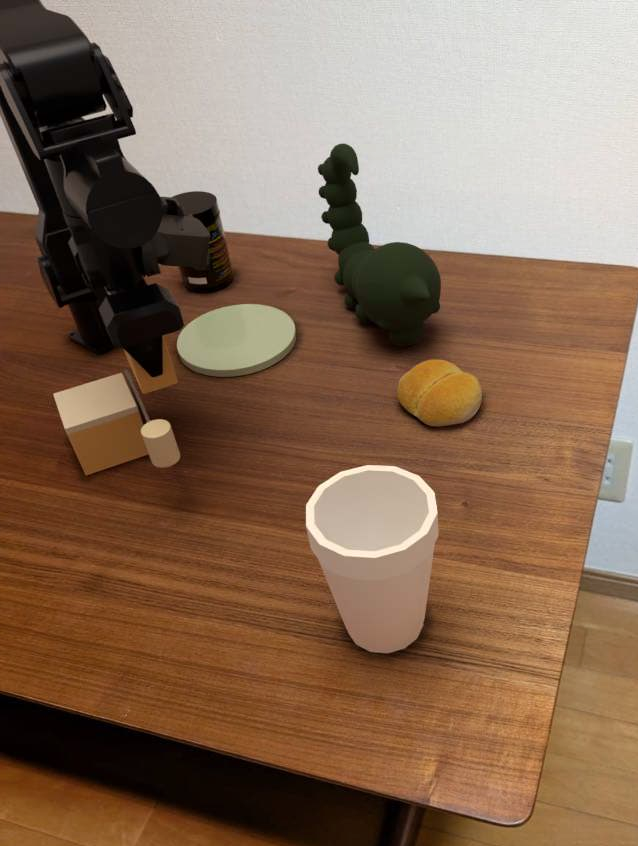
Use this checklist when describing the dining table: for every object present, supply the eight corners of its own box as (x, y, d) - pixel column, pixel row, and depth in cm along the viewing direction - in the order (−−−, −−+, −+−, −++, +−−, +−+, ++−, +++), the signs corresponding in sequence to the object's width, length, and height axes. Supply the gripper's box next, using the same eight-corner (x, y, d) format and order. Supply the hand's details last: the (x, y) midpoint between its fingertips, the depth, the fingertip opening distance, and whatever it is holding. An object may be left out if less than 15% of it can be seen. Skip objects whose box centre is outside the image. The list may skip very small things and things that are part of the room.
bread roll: (442, 440, 84) (441, 409, 81) (386, 402, 89) (383, 371, 86) (500, 405, 87) (501, 373, 84) (443, 369, 92) (442, 338, 89)
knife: (129, 416, 89) (102, 344, 83) (152, 408, 90) (127, 336, 83) (172, 515, 78) (144, 441, 72) (198, 505, 79) (173, 431, 72)
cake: (73, 440, 88) (52, 393, 83) (138, 418, 89) (121, 372, 85) (85, 475, 83) (64, 428, 79) (153, 452, 85) (136, 405, 81)
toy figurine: (316, 297, 108) (395, 380, 90) (287, 142, 95) (373, 204, 78) (381, 277, 110) (471, 355, 93) (362, 124, 98) (462, 181, 80)
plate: (154, 351, 98) (151, 344, 98) (240, 299, 105) (238, 292, 105) (235, 391, 92) (233, 384, 91) (320, 333, 99) (319, 325, 98)
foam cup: (328, 584, 72) (306, 471, 62) (434, 573, 72) (429, 458, 62) (330, 675, 65) (306, 564, 56) (447, 663, 65) (443, 551, 56)
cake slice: (127, 361, 85) (109, 308, 80) (161, 350, 86) (144, 298, 81) (143, 394, 81) (124, 341, 76) (178, 383, 82) (161, 330, 77)
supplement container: (239, 267, 111) (222, 190, 104) (228, 293, 107) (210, 214, 99) (190, 268, 112) (169, 191, 104) (177, 294, 107) (155, 216, 100)
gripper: (220, 221, 67) (256, 381, 78) (160, 145, 79) (200, 293, 90) (81, 258, 64) (140, 419, 75) (42, 173, 76) (98, 323, 87)
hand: (148, 358), depth 82 cm, fingers closed on cake slice, 6 cm apart
